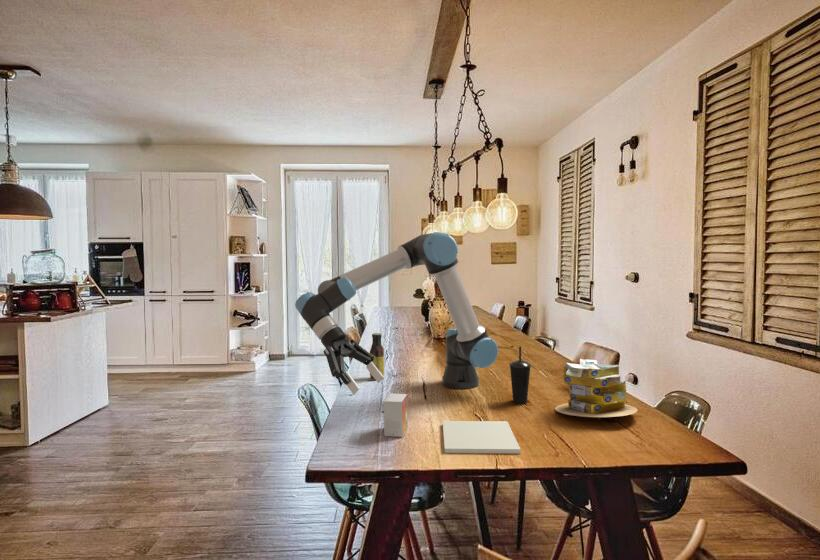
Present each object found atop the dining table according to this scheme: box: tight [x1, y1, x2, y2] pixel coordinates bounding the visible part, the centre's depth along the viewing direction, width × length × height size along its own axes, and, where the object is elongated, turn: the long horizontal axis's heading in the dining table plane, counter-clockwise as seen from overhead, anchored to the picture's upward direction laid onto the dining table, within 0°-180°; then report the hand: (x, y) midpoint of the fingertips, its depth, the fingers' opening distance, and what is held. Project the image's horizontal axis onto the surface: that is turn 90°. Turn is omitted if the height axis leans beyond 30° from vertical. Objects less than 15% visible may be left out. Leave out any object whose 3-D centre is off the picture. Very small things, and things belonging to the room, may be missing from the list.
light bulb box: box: [579, 358, 599, 365], centre depth 173 cm, size 11×7×11 cm, turn 160°
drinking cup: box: [508, 346, 532, 405], centre depth 159 cm, size 8×8×20 cm
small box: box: [383, 393, 409, 438], centre depth 133 cm, size 8×6×10 cm
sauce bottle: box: [369, 332, 385, 381], centre depth 191 cm, size 7×6×20 cm
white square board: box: [442, 420, 522, 455], centre depth 128 cm, size 20×20×1 cm
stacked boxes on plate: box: [555, 362, 638, 421], centre depth 146 cm, size 25×25×17 cm
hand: (369, 385), depth 136 cm, fingers open, 13 cm apart
